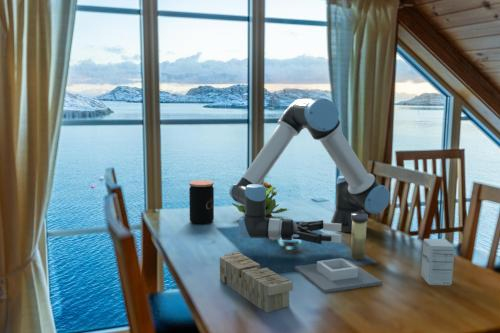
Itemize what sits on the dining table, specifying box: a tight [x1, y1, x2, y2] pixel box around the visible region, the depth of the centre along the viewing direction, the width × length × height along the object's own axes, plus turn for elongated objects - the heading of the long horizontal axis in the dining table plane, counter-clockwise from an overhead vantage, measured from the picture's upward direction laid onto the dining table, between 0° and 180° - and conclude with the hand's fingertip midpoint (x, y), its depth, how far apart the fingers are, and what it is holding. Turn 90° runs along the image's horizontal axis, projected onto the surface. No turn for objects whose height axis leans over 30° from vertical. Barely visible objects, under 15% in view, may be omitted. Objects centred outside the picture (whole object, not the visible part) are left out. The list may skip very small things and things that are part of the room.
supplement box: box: [420, 238, 456, 286], centre depth 151 cm, size 7×7×13 cm
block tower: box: [219, 251, 294, 314], centre depth 141 cm, size 8×8×29 cm
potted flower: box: [231, 181, 291, 218], centre depth 222 cm, size 25×24×18 cm
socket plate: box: [294, 257, 383, 294], centre depth 154 cm, size 20×20×4 cm
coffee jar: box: [188, 179, 215, 226], centre depth 214 cm, size 11×11×18 cm
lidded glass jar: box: [349, 211, 369, 261], centre depth 171 cm, size 6×6×16 cm
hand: (341, 232), depth 171 cm, fingers open, 13 cm apart
